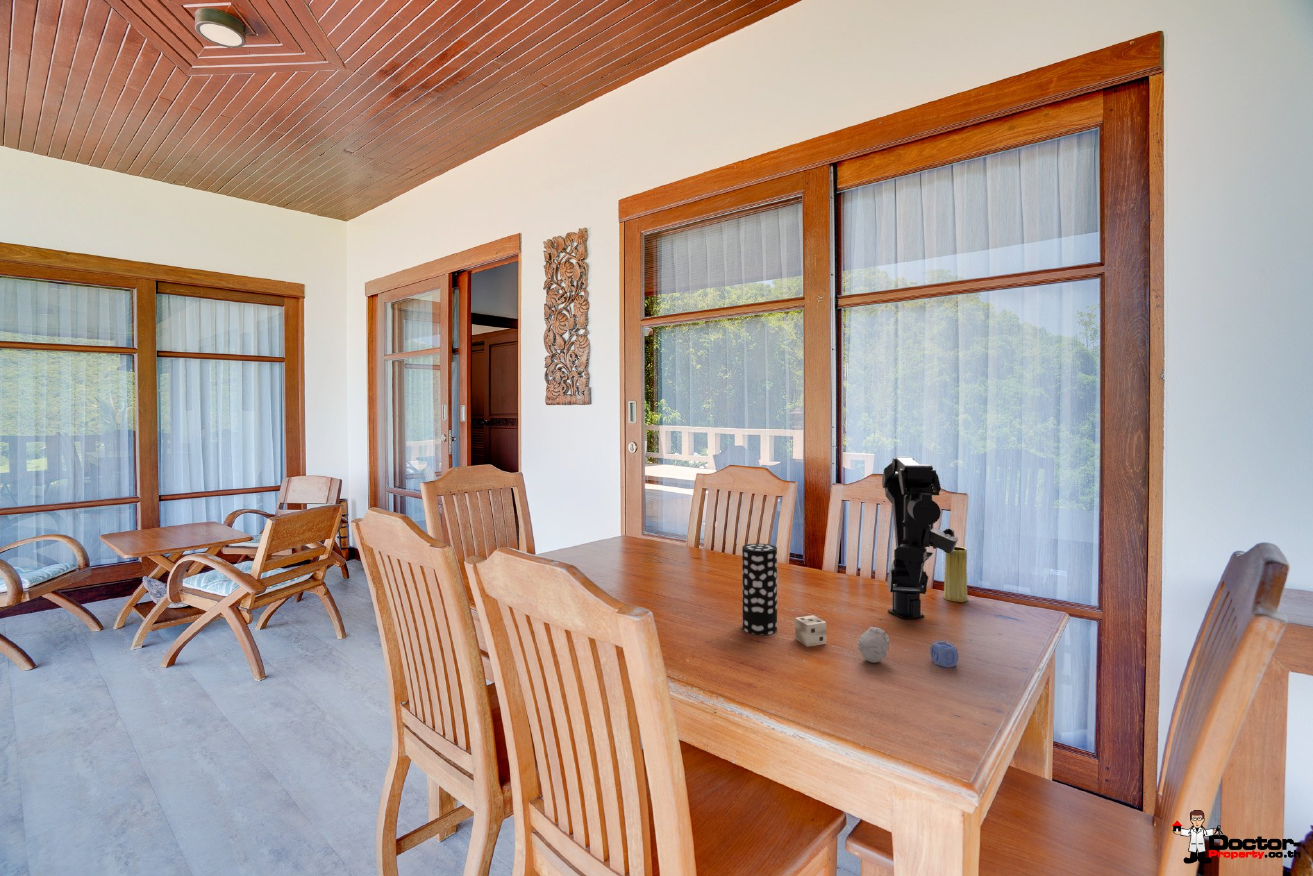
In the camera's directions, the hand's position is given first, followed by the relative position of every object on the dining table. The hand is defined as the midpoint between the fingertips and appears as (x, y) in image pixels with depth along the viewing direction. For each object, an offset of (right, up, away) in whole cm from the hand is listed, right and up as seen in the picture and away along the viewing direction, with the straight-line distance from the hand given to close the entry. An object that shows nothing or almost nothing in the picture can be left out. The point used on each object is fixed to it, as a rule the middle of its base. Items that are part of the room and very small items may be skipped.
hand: (916, 583), depth 138 cm
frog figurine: (-16, -13, -14) cm, 25 cm away
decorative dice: (-1, -13, -16) cm, 21 cm away
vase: (+22, -11, +25) cm, 35 cm away
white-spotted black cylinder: (-36, -12, +5) cm, 39 cm away
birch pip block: (-26, -13, -3) cm, 29 cm away
